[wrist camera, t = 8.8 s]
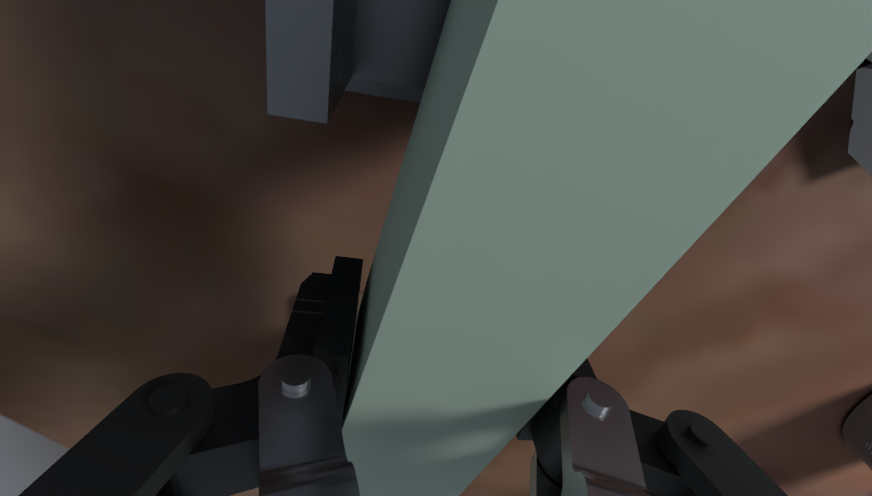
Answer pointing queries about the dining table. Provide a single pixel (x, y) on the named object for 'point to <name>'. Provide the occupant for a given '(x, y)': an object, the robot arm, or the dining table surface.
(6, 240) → the dining table surface
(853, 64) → the green rail
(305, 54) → the cup bracket
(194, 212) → the dining table surface
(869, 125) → the decorative molding
